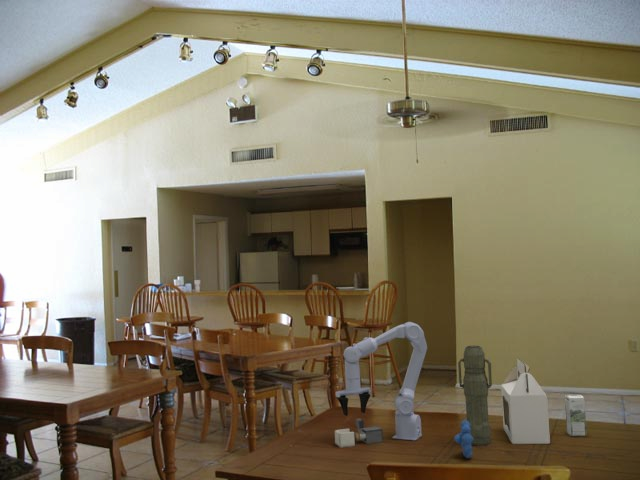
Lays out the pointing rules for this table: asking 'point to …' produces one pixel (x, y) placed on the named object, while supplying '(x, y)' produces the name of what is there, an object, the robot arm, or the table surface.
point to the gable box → (524, 407)
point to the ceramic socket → (344, 438)
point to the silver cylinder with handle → (360, 430)
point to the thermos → (476, 393)
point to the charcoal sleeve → (373, 434)
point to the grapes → (465, 438)
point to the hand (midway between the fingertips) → (354, 413)
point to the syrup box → (575, 415)
